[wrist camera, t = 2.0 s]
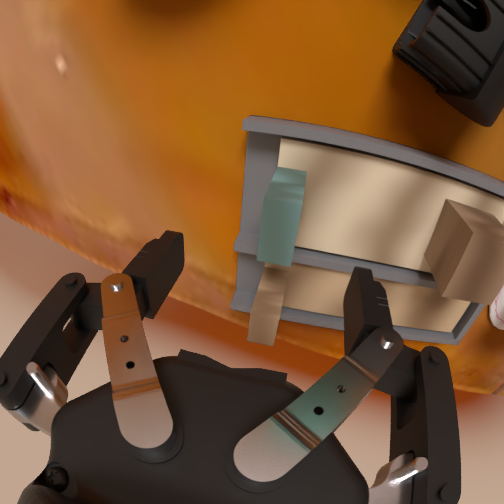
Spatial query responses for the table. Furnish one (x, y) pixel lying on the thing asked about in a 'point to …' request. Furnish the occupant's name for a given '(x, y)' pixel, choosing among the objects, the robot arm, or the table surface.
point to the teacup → (498, 310)
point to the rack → (250, 270)
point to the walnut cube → (467, 254)
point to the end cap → (459, 53)
